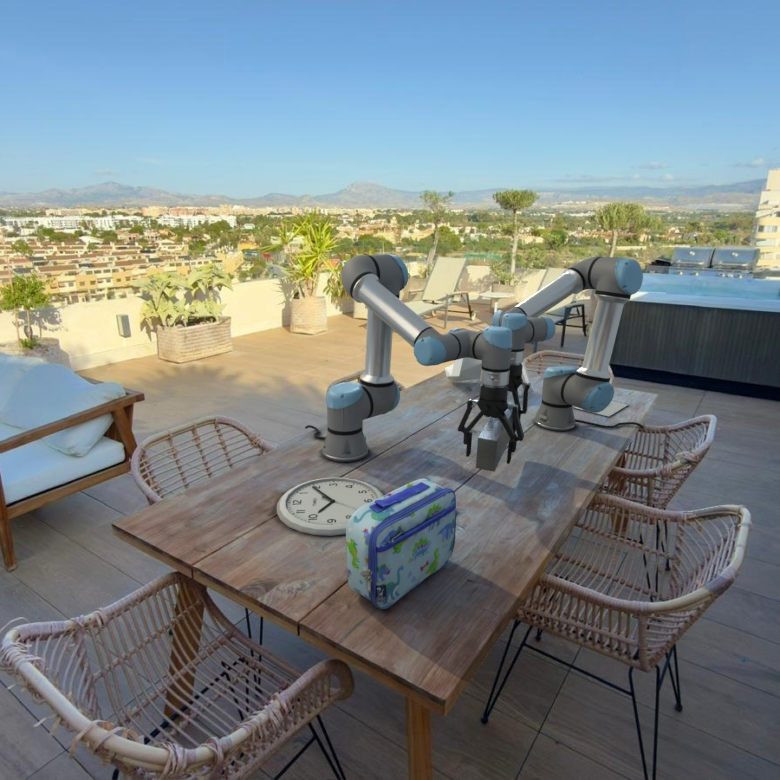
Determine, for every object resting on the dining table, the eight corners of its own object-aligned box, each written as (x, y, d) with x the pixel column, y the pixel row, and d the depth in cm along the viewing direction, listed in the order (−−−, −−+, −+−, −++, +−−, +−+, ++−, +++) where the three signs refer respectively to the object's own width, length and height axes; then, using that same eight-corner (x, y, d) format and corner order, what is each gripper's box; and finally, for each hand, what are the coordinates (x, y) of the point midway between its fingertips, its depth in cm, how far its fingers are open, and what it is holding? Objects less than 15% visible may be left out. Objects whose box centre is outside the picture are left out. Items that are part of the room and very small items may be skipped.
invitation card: (608, 416, 214) (573, 407, 224) (608, 416, 214) (573, 408, 224) (628, 404, 229) (594, 396, 238) (628, 405, 229) (594, 397, 238)
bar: (498, 427, 177) (501, 401, 174) (514, 429, 175) (517, 403, 172) (475, 468, 147) (477, 437, 144) (494, 471, 145) (497, 440, 142)
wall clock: (392, 527, 129) (268, 531, 127) (391, 533, 130) (269, 537, 127) (383, 473, 158) (282, 475, 155) (383, 478, 158) (282, 480, 156)
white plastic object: (466, 425, 257) (443, 402, 232) (448, 350, 279) (426, 321, 254) (539, 401, 244) (523, 374, 220) (514, 324, 267) (497, 292, 242)
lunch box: (375, 622, 100) (376, 527, 94) (339, 595, 108) (338, 505, 101) (459, 565, 118) (465, 481, 112) (424, 545, 125) (427, 465, 119)
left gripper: (449, 382, 143) (445, 456, 149) (536, 393, 135) (528, 471, 141) (456, 375, 149) (452, 446, 156) (540, 385, 141) (532, 460, 148)
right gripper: (479, 362, 165) (474, 430, 172) (539, 368, 159) (531, 439, 166) (484, 357, 172) (479, 423, 179) (541, 363, 166) (534, 431, 173)
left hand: (488, 458), depth 149 cm, fingers open, 11 cm apart
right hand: (504, 430), depth 172 cm, fingers closed on bar, 5 cm apart
